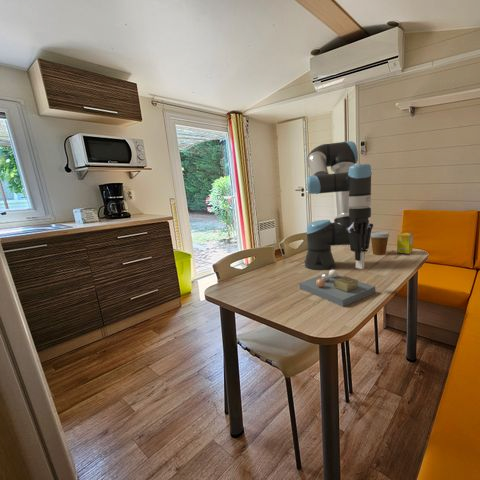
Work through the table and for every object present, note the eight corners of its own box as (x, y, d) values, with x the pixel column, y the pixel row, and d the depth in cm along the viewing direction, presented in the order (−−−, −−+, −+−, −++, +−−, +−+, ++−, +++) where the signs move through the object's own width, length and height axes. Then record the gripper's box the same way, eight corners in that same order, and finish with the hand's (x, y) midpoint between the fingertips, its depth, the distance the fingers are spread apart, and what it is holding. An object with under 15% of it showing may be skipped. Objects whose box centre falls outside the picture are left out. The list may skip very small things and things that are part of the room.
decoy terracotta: (314, 286, 104) (314, 278, 103) (320, 284, 106) (320, 276, 105) (320, 289, 101) (320, 281, 100) (327, 287, 103) (326, 278, 102)
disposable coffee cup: (381, 256, 141) (381, 235, 139) (366, 253, 150) (366, 233, 147) (392, 253, 146) (393, 232, 143) (376, 250, 154) (377, 230, 152)
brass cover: (334, 287, 101) (333, 279, 101) (344, 283, 104) (344, 276, 103) (347, 291, 96) (347, 284, 95) (357, 287, 99) (357, 280, 98)
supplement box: (400, 251, 149) (400, 232, 146) (412, 252, 144) (413, 233, 142) (396, 253, 145) (397, 234, 143) (409, 255, 140) (409, 235, 138)
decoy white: (327, 277, 113) (327, 269, 112) (332, 275, 114) (332, 267, 114) (333, 279, 110) (333, 271, 109) (339, 277, 111) (339, 269, 111)
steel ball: (319, 281, 109) (319, 273, 109) (325, 279, 111) (325, 271, 110) (325, 283, 106) (325, 275, 106) (331, 281, 108) (331, 273, 107)
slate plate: (299, 288, 110) (299, 282, 110) (329, 277, 119) (329, 272, 118) (342, 306, 91) (342, 299, 91) (375, 292, 100) (375, 286, 99)
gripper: (357, 209, 91) (357, 273, 96) (380, 205, 98) (379, 266, 102) (339, 209, 98) (340, 269, 102) (362, 205, 104) (362, 262, 108)
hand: (359, 267), depth 102 cm, fingers closed
